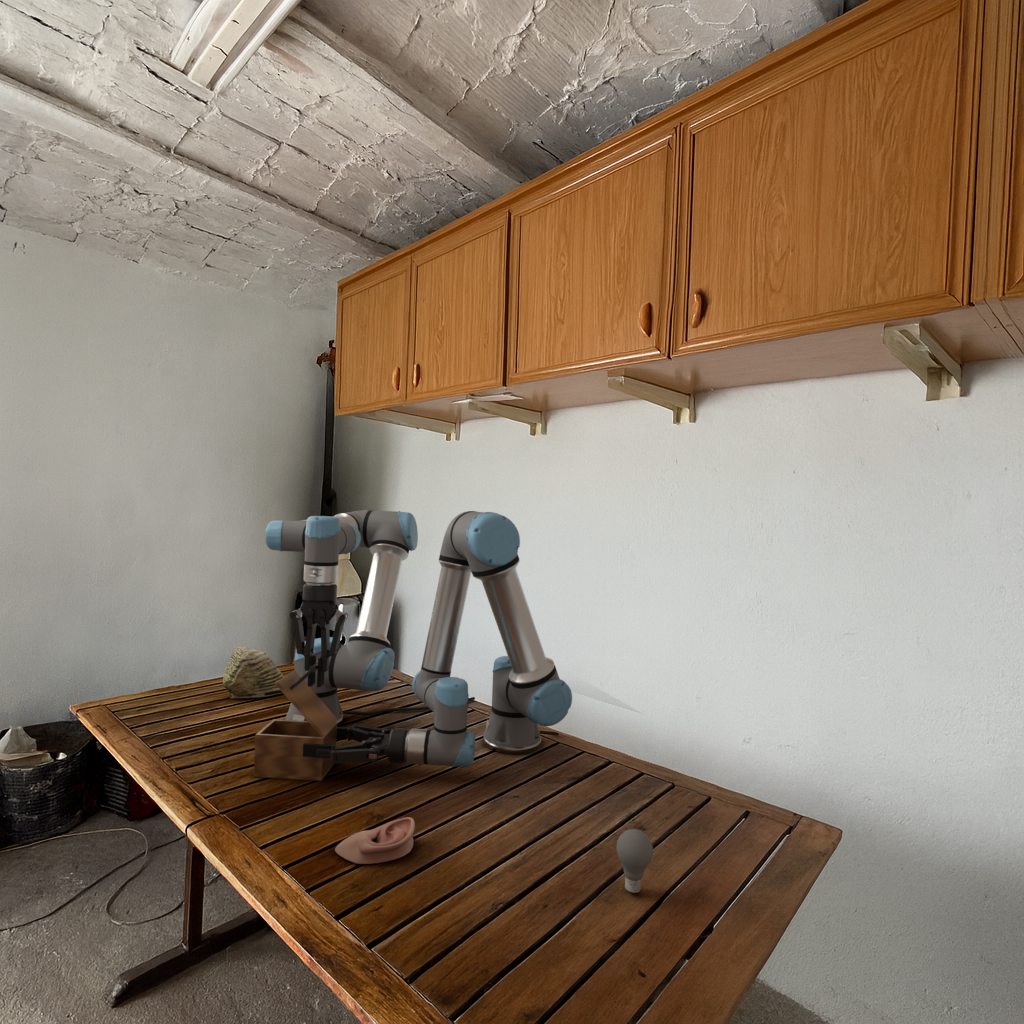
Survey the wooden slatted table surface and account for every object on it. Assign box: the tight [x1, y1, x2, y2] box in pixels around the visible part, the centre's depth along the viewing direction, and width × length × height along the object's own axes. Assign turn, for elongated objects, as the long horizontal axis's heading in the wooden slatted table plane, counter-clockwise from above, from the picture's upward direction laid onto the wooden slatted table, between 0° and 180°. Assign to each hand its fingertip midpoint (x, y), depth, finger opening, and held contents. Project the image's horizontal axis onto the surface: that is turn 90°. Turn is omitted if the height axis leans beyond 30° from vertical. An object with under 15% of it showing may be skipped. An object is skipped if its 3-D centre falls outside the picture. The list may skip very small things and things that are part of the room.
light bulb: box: [615, 828, 654, 894], centre depth 106 cm, size 6×6×10 cm
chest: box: [253, 718, 338, 782], centre depth 146 cm, size 15×10×10 cm, turn 88°
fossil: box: [222, 646, 285, 699], centre depth 198 cm, size 9×18×15 cm, turn 132°
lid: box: [276, 662, 338, 737], centre depth 146 cm, size 16×10×8 cm
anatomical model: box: [334, 816, 416, 865], centre depth 115 cm, size 13×4×12 cm
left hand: (315, 684), depth 146 cm, fingers closed on lid, 1 cm apart
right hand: (311, 740), depth 146 cm, fingers closed on chest, 10 cm apart
